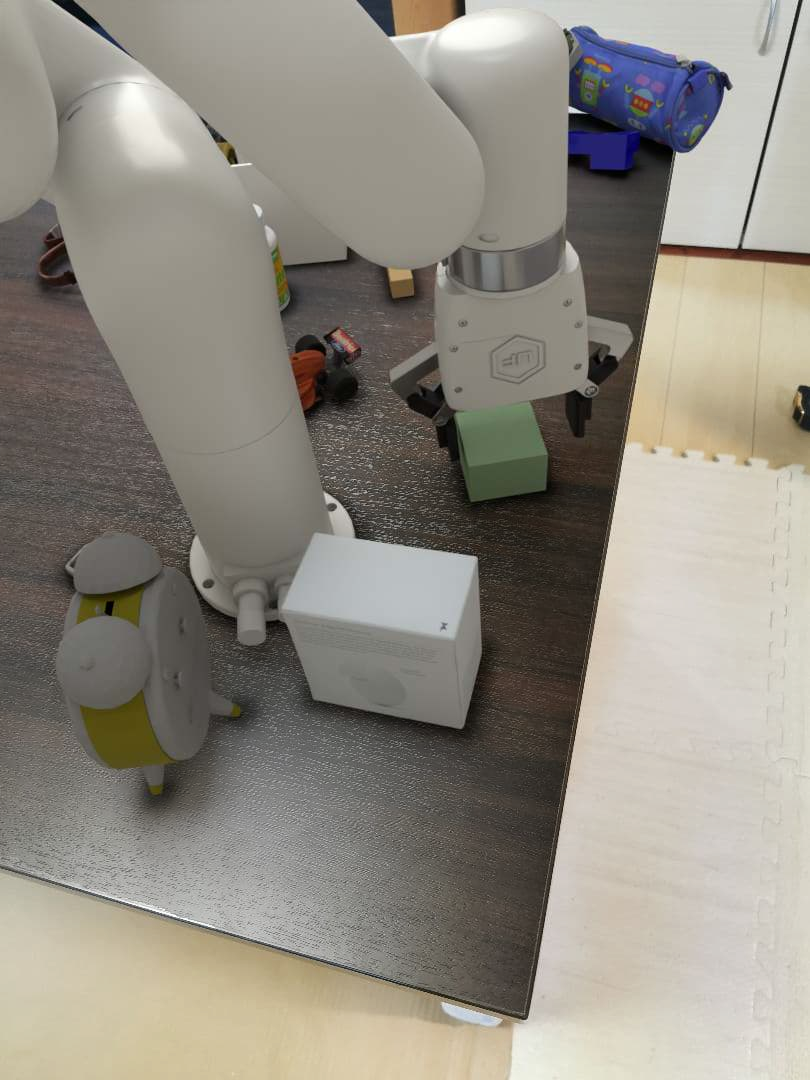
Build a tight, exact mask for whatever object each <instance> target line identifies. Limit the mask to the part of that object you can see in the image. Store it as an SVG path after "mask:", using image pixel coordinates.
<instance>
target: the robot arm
mask: <svg viewBox="0 0 810 1080" xmlns="http://www.w3.org/2000/svg"><path fill="white" fill-rule="evenodd" d="M73 1H74V3H76V4H77V5H78V7H80V8H81V9H83V10H84V11H85V13H87V14H88V15H89V16H90V17H91V18H93V20H95V21H96V22H97V23H98V24H99V26H100V27H101V28H102V29H103V30H104V31H105V32H106V33H107V34H108V35H109V36H110V37H111V38H112V39H113V40H114V41H115V42H116V43H117V44H118V45H119V46H120V47H121V48H122V49H123V50H124V51H123V50H122V49H120V48H119V47H118V46H116V45H115V44H114V43H112V42H111V41H109V40H108V39H106V38H105V37H103V36H102V35H101V34H99V33H98V32H97V31H95V30H93V29H92V28H91V27H89V26H88V25H87V24H85V23H83V22H82V21H81V20H79V19H78V18H77V17H76V16H74V15H73V14H71V13H70V12H68V11H67V10H66V9H64V8H62V7H61V6H60V5H58V4H57V3H55V2H54V1H53V0H0V224H1V223H4V222H8V221H11V220H13V219H17V218H18V217H19V216H22V215H23V214H24V213H26V212H27V211H29V210H30V209H31V208H33V207H34V206H35V205H36V204H37V202H38V201H39V200H40V199H42V200H43V201H45V202H46V203H48V204H51V205H52V206H54V207H55V212H56V216H57V221H58V223H59V224H60V227H61V231H62V234H61V235H62V236H63V238H64V241H65V245H66V248H67V255H68V258H69V261H70V265H71V267H72V271H74V274H75V277H76V280H77V282H78V283H77V286H78V288H79V291H80V293H81V295H82V299H83V300H84V303H85V305H86V308H87V309H88V311H89V313H90V316H91V318H92V320H93V321H94V324H95V326H96V328H97V330H98V331H99V333H100V335H101V337H102V339H103V341H104V342H105V345H106V346H107V349H108V350H109V352H110V354H111V355H112V357H113V359H114V361H115V363H116V365H117V367H118V369H119V371H120V373H121V375H122V377H123V379H124V381H125V383H126V386H127V388H128V390H129V392H130V395H131V396H132V398H133V401H134V403H135V405H136V407H137V410H138V412H139V413H140V416H141V418H142V420H143V422H144V424H145V426H146V427H145V428H146V429H147V431H148V433H149V434H150V435H151V437H152V439H153V442H154V444H155V446H156V448H157V450H158V453H159V455H160V457H161V460H162V461H163V464H164V466H165V468H166V470H167V472H168V475H169V477H170V479H171V481H172V483H173V486H174V488H175V491H176V492H177V495H178V496H179V499H180V502H181V503H182V505H183V508H184V510H185V512H186V514H187V517H188V518H189V521H190V523H191V525H192V528H193V530H194V532H195V536H194V538H193V540H192V544H191V548H190V549H189V550H190V551H189V569H190V574H191V575H190V576H191V578H192V580H193V582H194V585H195V587H196V589H197V590H198V592H199V594H200V595H201V597H202V598H203V599H204V600H205V601H206V602H207V603H208V604H209V606H211V607H212V608H213V609H216V610H217V611H219V612H220V613H223V614H224V615H226V616H229V617H232V618H235V619H236V628H237V629H236V638H237V641H238V643H240V644H242V645H244V646H258V645H260V644H263V643H264V642H265V641H266V640H267V623H266V622H272V621H273V622H274V621H278V620H279V622H282V623H284V624H286V622H285V619H284V617H283V614H282V610H281V606H282V604H283V602H284V599H285V597H286V595H287V592H288V590H289V588H290V586H291V583H292V581H293V579H294V576H295V574H296V572H297V570H298V567H299V565H300V563H301V561H302V558H303V556H304V554H305V551H306V549H307V547H308V545H309V543H310V540H311V538H312V536H313V535H314V533H321V534H328V535H334V536H341V537H348V538H354V539H357V538H356V531H355V528H354V524H353V520H352V518H351V516H350V515H349V513H348V511H347V509H346V508H345V507H344V505H342V504H341V502H340V501H339V500H337V498H335V497H333V496H332V495H330V494H329V493H327V492H326V491H324V489H323V485H322V482H321V477H320V474H319V470H318V465H317V462H316V457H315V453H314V449H313V445H312V442H311V437H310V433H309V429H308V425H307V421H306V417H305V413H304V411H303V409H302V405H301V401H300V397H299V393H298V389H297V386H296V382H295V378H294V374H293V370H292V366H291V362H290V358H289V356H290V353H289V350H288V345H287V342H286V337H285V333H284V332H285V331H284V327H283V323H282V316H281V311H280V310H279V303H278V295H277V286H276V278H275V271H274V265H273V260H272V256H271V252H270V248H269V244H268V241H267V238H266V235H265V232H264V229H263V226H262V224H261V221H260V219H259V217H258V214H257V212H256V210H255V208H254V206H253V204H252V202H251V200H250V198H249V196H248V194H247V192H246V190H245V189H244V187H243V185H242V183H241V182H240V180H239V178H238V177H237V175H236V174H235V172H234V170H233V169H232V167H231V165H230V164H229V162H228V160H227V159H226V157H225V155H224V154H223V152H222V151H221V150H220V149H219V147H218V146H217V144H216V142H217V141H216V140H215V139H214V136H212V134H211V132H210V131H209V130H208V128H207V126H205V125H204V123H203V122H202V120H201V119H200V117H199V116H198V114H199V115H200V116H201V117H202V118H203V119H204V120H205V121H206V122H207V123H208V125H209V126H210V127H211V128H212V129H213V130H215V131H216V133H218V135H220V137H221V136H222V137H223V138H224V139H225V140H226V141H228V142H229V143H230V144H231V145H232V146H233V147H234V148H235V149H236V150H237V151H238V152H239V153H240V154H241V155H243V156H244V157H245V158H246V159H247V160H248V161H249V162H250V163H251V164H252V165H253V166H254V167H255V168H257V169H258V170H259V171H260V172H261V173H262V174H263V175H264V176H265V177H267V178H268V179H269V180H270V181H271V182H272V183H273V184H274V185H275V186H277V187H278V188H279V189H280V190H281V191H282V192H284V193H285V194H286V195H287V196H288V197H289V198H291V199H292V200H293V201H294V202H295V203H296V204H298V205H299V206H300V207H301V208H302V209H304V210H305V211H306V212H307V213H309V214H310V215H311V216H312V217H313V218H315V219H316V220H317V221H318V222H319V223H320V224H322V225H323V226H324V227H325V228H326V229H328V230H329V231H330V232H331V233H332V234H334V235H335V236H336V237H337V238H338V239H340V240H341V241H342V242H343V243H344V244H346V245H347V248H349V249H350V250H352V251H354V252H355V253H356V254H357V255H359V257H362V258H363V259H365V260H367V261H369V262H370V263H373V264H375V265H378V266H381V267H384V268H386V267H388V268H393V269H398V270H411V271H413V270H419V269H422V268H423V269H425V268H427V267H430V266H432V265H435V264H437V266H436V270H435V271H436V272H435V280H434V292H433V329H434V341H433V342H432V343H430V344H429V345H427V346H426V347H424V348H423V349H421V350H419V351H418V352H417V353H414V354H413V355H412V356H409V358H407V359H406V360H404V361H402V362H401V363H399V364H398V365H396V366H395V367H393V368H392V369H390V370H389V371H388V373H387V376H388V382H389V387H390V389H391V390H392V391H393V392H394V393H395V394H396V395H397V396H398V397H399V398H400V399H401V400H402V401H404V402H405V403H406V404H407V407H408V408H409V409H410V410H412V411H414V412H415V413H418V414H420V415H422V416H424V417H425V418H428V419H430V420H431V422H432V425H434V427H435V432H436V438H437V443H438V447H439V449H444V448H447V449H448V454H449V458H450V462H451V463H456V462H459V460H460V452H459V444H458V436H457V428H456V418H455V413H458V412H467V411H476V410H482V409H488V408H493V407H499V406H505V405H511V404H517V403H523V402H531V401H534V400H540V399H545V398H550V397H555V396H559V395H563V394H565V401H564V402H565V403H564V410H565V411H564V412H565V416H566V419H567V421H568V424H569V427H570V430H571V432H572V435H573V438H576V439H581V438H585V432H586V421H590V420H592V409H593V408H592V407H593V397H595V396H597V395H598V393H599V392H600V387H599V386H600V385H601V384H602V383H603V382H604V381H606V380H607V379H608V378H609V377H610V376H611V375H612V374H613V373H615V371H617V369H618V368H619V362H620V360H621V359H622V358H623V357H624V356H625V355H626V353H627V351H628V350H629V348H630V347H631V345H632V344H633V342H634V340H635V338H634V335H633V333H632V331H631V329H630V327H629V325H628V324H626V323H623V322H618V321H613V320H610V319H605V318H601V317H596V316H593V315H588V314H587V301H586V289H585V284H584V283H585V282H584V277H583V271H582V270H583V269H582V265H581V261H580V258H579V255H578V253H577V251H576V250H575V249H574V247H573V246H572V244H571V243H570V242H569V241H568V240H567V220H568V219H567V215H568V214H567V213H568V211H567V210H568V161H569V160H568V159H569V154H568V132H569V112H570V111H569V107H570V106H569V48H568V43H567V40H566V37H565V35H564V32H563V29H562V27H561V25H560V24H559V23H558V22H557V21H556V20H555V19H554V18H552V17H551V16H549V15H547V14H546V13H544V12H542V11H540V10H536V9H531V8H526V7H515V6H514V7H512V6H511V7H510V6H505V7H493V8H487V9H482V10H478V11H474V12H470V13H468V14H465V15H461V16H459V17H458V18H455V19H453V20H452V21H450V22H449V23H447V24H445V25H444V26H443V27H442V28H439V29H434V30H429V31H424V32H418V33H417V32H416V33H410V34H401V35H395V36H388V35H387V34H386V32H384V30H383V29H382V28H381V27H380V26H379V24H378V23H377V22H376V21H375V20H374V19H373V18H372V17H371V16H370V15H369V13H368V12H367V11H366V9H364V7H363V6H362V5H361V3H359V2H358V1H357V0H73ZM125 51H126V52H125ZM195 111H196V112H197V113H198V114H197V113H196V112H195ZM215 141H216V142H215ZM589 342H592V343H597V344H601V345H603V346H600V347H598V349H597V350H596V351H594V353H592V354H591V355H590V354H589V352H590V351H589ZM589 355H590V356H589ZM436 370H438V373H439V378H438V379H437V380H436V382H435V383H434V384H433V386H432V387H431V389H430V388H428V387H426V386H423V385H422V384H419V383H417V382H419V381H421V380H423V379H424V378H426V377H427V376H428V375H430V374H432V373H433V372H435V371H436Z"/></svg>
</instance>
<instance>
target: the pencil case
mask: <svg viewBox="0 0 810 1080" xmlns="http://www.w3.org/2000/svg"><path fill="white" fill-rule="evenodd" d="M569 30H570V31H571V32H572V33H573V34H574V36H575V37H576V39H577V40H578V42H579V43H580V46H581V48H582V50H583V54H582V56H581V57H580V59H579V60H578V62H577V63H576V64H575V66H574V67H573V68H572V69H571V70H570V72H569V107H570V108H571V109H574V110H576V111H579V112H580V113H583V114H588V115H590V116H592V117H594V118H596V119H598V120H600V121H603V122H605V123H608V124H610V125H612V126H614V127H616V128H618V129H621V130H624V131H640V137H643V138H646V139H648V140H652V141H654V142H656V143H657V144H659V145H665V146H668V147H669V148H671V150H673V151H674V152H676V153H678V154H686V153H687V154H688V153H690V152H692V151H693V150H694V149H695V148H696V147H697V146H698V145H699V144H700V142H701V141H702V139H703V138H704V136H705V135H706V134H707V133H708V131H709V130H710V128H711V126H712V125H713V123H714V122H715V120H716V118H717V116H718V114H719V111H720V110H721V106H722V103H723V100H724V97H725V96H724V95H725V89H726V90H727V91H728V92H729V91H731V90H732V89H733V87H734V86H733V83H732V82H731V81H730V78H729V76H728V74H727V73H726V72H724V71H720V70H719V68H717V67H716V66H714V65H713V64H712V63H710V62H707V61H705V60H691V59H687V56H686V54H685V53H682V54H672V53H666V52H663V51H661V50H658V49H657V48H656V49H655V48H652V47H649V46H645V45H640V44H635V43H630V42H627V41H621V40H616V39H610V38H604V37H602V36H600V35H599V34H598V33H597V31H596V30H595V29H594V28H591V27H590V26H588V25H578V26H573V27H571V28H570V29H569ZM564 35H565V34H564ZM565 37H566V36H565Z"/></svg>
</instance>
